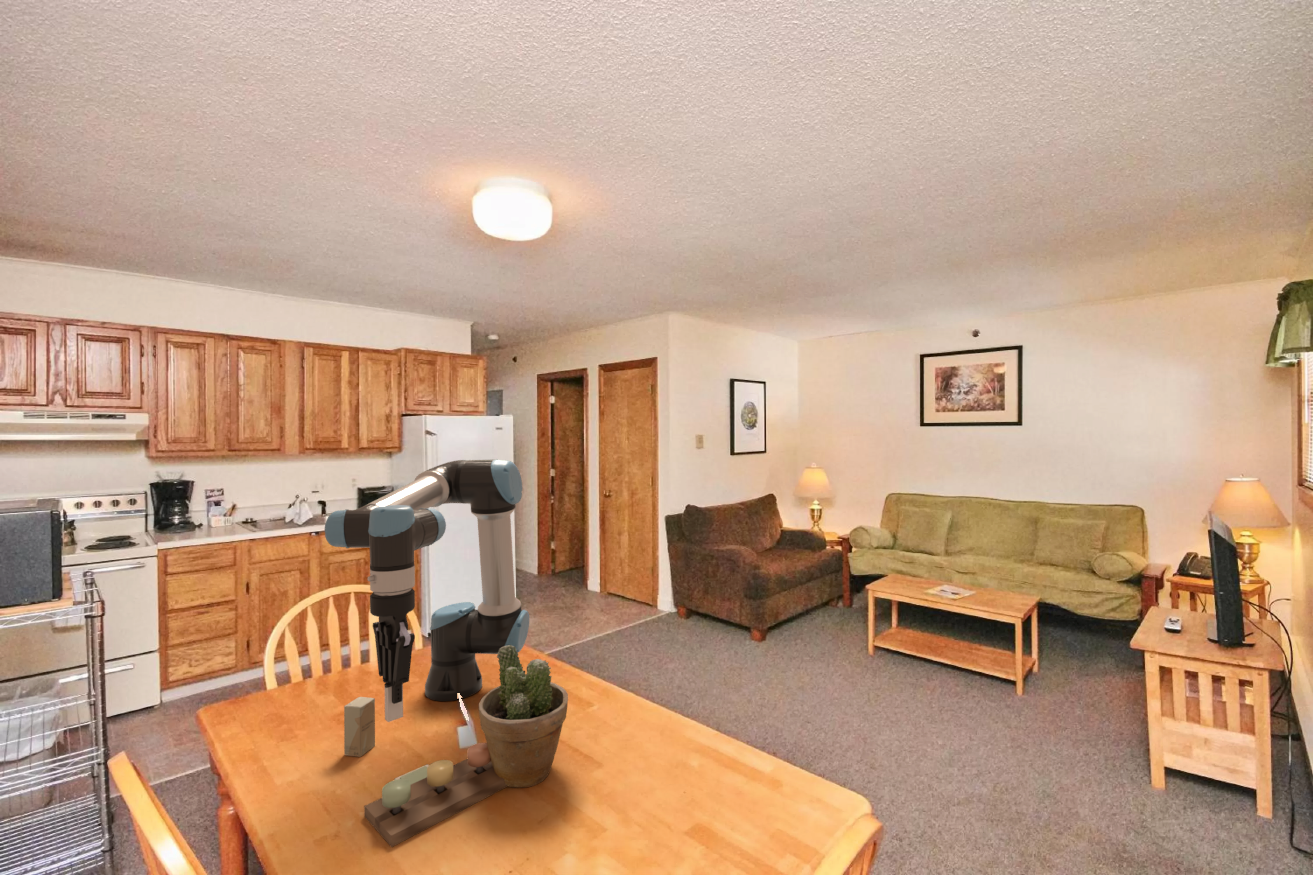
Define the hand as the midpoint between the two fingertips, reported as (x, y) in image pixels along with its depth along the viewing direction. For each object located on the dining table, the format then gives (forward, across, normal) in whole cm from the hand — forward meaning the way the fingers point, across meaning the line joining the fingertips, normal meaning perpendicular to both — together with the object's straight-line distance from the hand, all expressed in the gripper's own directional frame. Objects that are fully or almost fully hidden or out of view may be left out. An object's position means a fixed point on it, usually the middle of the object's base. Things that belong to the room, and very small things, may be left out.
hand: (394, 717), depth 107 cm
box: (+19, -31, +5) cm, 37 cm away
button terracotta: (+17, 0, +17) cm, 24 cm away
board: (+19, 0, +9) cm, 21 cm away
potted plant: (+19, +4, +25) cm, 32 cm away
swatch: (+19, -10, +9) cm, 23 cm away
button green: (+17, 0, 0) cm, 17 cm away
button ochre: (+17, 0, +9) cm, 19 cm away
